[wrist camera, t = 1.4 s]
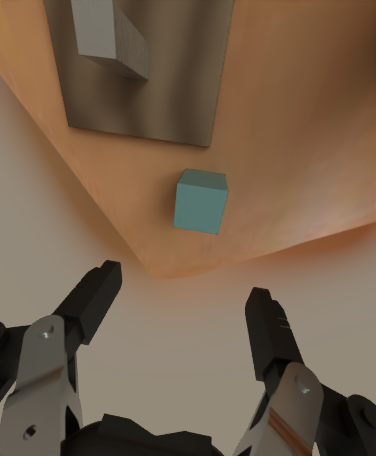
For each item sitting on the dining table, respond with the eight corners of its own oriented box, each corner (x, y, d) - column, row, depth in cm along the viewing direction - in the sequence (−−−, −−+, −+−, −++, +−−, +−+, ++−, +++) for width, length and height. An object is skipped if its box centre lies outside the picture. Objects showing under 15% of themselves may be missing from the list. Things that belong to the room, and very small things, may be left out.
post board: (238, -27, 16) (240, -40, 15) (209, 145, 23) (209, 146, 22) (46, -45, 17) (32, -59, 15) (76, 126, 24) (68, 126, 23)
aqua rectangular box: (225, 174, 25) (228, 191, 19) (217, 209, 27) (217, 234, 21) (186, 168, 25) (177, 183, 19) (182, 204, 28) (173, 227, 22)
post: (149, 44, 18) (112, 0, 11) (149, 80, 19) (116, 58, 13) (121, 41, 18) (70, -5, 12) (123, 77, 19) (78, 54, 13)
